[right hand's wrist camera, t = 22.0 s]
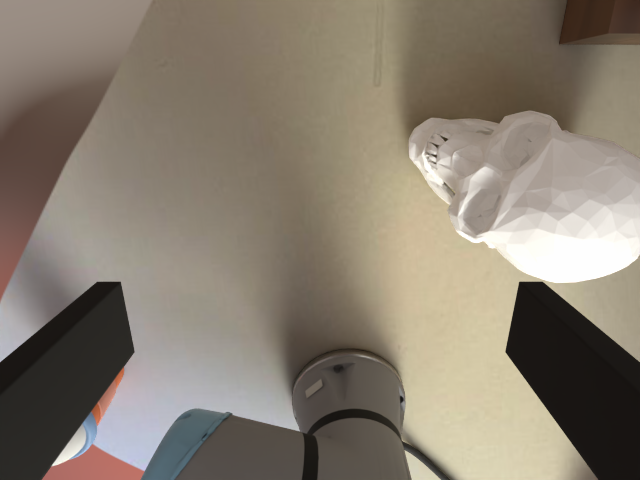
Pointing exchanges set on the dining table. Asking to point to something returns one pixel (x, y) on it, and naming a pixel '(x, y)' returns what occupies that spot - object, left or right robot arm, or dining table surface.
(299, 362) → the dining table surface
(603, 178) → the skull
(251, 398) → the dining table surface
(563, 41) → the walnut block
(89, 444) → the cup with straw
